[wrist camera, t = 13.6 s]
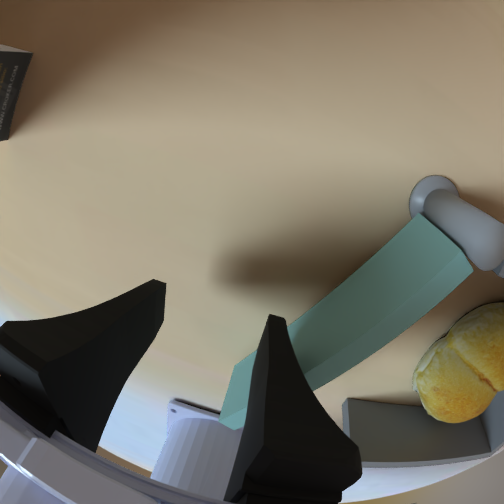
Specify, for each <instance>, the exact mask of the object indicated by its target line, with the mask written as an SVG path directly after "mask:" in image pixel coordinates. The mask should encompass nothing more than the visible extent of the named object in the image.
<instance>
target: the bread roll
mask: <svg viewBox="0 0 504 504" xmlns="http://www.w3.org/2000/svg"><path fill="white" fill-rule="evenodd" d="M412 388H413V390H415V391H417V392H418V393H419V397H420V399H421V402H422V404H423V407H424V408H425V409H426V411H427V413H428V414H429V415H432V417H434V418H435V419H437V420H440V421H443V422H447V423H460V422H464V421H467V420H470V419H472V418H475V417H477V416H478V415H480V414H481V413H483V412H484V411H485V409H486V408H487V407H488V406H489V404H490V403H491V401H492V400H493V398H494V397H495V395H496V394H497V392H499V391H503V390H504V302H498V303H491V304H487V305H483V306H480V307H478V308H477V309H475V310H473V311H471V312H470V313H468V314H467V315H465V316H464V317H463V318H461V319H460V320H459V321H458V322H457V323H455V325H454V326H453V327H452V328H451V329H450V331H449V333H448V334H447V336H446V337H444V338H442V339H439V340H438V341H436V342H435V343H434V344H433V345H432V346H431V347H430V348H429V350H428V351H427V352H426V354H425V355H424V356H423V357H422V359H421V360H420V362H419V364H418V365H417V367H416V369H415V371H414V375H413V386H412Z"/></svg>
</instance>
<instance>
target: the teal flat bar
mask: <svg viewBox="0 0 504 504" xmlns="http://www.w3.org/2000/svg"><path fill="white" fill-rule="evenodd" d="M423 212H424V216H425V217H423V216H422V215H421V214H420V213H418V214H417V215H416V216H415V217H414V218H413V219H412V220H411V221H410V222H409V223H408V224H407V225H406V226H405V227H404V228H403V229H401V230H400V231H399V232H398V233H397V234H396V235H395V236H394V237H393V238H392V239H391V240H390V241H389V242H388V243H387V244H385V245H384V246H383V247H382V248H381V249H380V250H379V251H378V252H377V253H376V254H375V255H373V256H372V257H371V258H370V259H369V260H368V261H367V262H366V263H364V264H363V265H362V266H361V267H360V268H359V269H358V270H356V271H355V272H354V273H353V274H352V275H351V276H350V277H348V278H347V279H346V280H345V281H344V282H343V283H341V284H340V285H339V286H338V287H337V288H335V289H334V290H333V291H332V292H331V293H329V294H328V295H327V296H326V297H325V298H323V299H322V300H321V301H320V302H318V303H317V304H316V305H315V306H313V307H312V308H311V309H310V310H309V311H307V312H306V313H305V314H303V315H302V316H301V317H300V318H298V319H297V320H296V321H295V322H293V323H292V324H291V325H289V326H288V327H287V329H288V333H289V337H290V340H291V344H292V347H293V349H294V352H295V355H296V358H297V360H298V363H299V365H300V367H301V370H302V372H303V374H304V376H305V378H306V380H307V382H308V384H309V386H310V388H311V389H312V391H314V390H316V389H318V388H320V387H321V386H323V385H325V384H326V383H328V382H330V381H332V380H333V379H335V378H336V377H338V376H340V375H341V374H343V373H344V372H346V371H348V370H349V369H351V368H352V367H354V366H355V365H357V364H358V363H360V362H362V361H363V360H364V359H366V358H367V357H369V356H370V355H372V354H373V353H375V352H376V351H378V350H379V349H380V348H382V347H383V346H385V345H386V344H387V343H389V342H390V341H392V340H393V339H394V338H396V337H397V336H398V335H400V334H401V333H402V332H404V331H405V330H406V329H408V328H409V327H410V326H411V325H413V324H414V323H415V322H416V321H418V320H419V319H420V318H421V317H423V316H424V315H425V314H426V313H428V312H429V311H430V310H431V309H432V308H433V307H435V306H436V305H437V304H438V303H439V302H440V301H442V300H443V299H444V298H445V297H446V296H447V295H448V294H450V293H451V292H452V291H453V290H454V289H455V288H456V287H457V286H458V285H459V284H460V283H462V282H463V281H464V280H465V279H466V278H467V277H468V276H469V275H470V274H471V273H472V272H473V271H474V270H473V268H472V267H471V265H470V263H469V262H468V260H467V258H466V257H465V255H466V256H467V257H468V258H469V259H470V260H471V261H472V262H473V263H474V264H475V265H476V266H477V267H478V268H479V269H481V270H484V271H489V270H492V269H494V268H496V267H497V266H499V265H500V264H501V262H502V261H503V260H504V224H502V223H501V222H499V221H497V220H496V219H494V218H493V217H491V216H490V215H488V214H486V213H485V212H483V211H481V210H480V209H478V208H476V207H475V206H473V205H471V204H469V203H468V202H466V201H464V200H462V199H461V198H459V197H457V196H455V195H453V194H451V193H450V192H448V191H446V190H443V189H435V190H433V191H431V192H430V193H429V194H428V195H427V197H426V198H425V201H424V204H423ZM464 254H465V255H464ZM256 353H257V350H256V351H255V352H253V353H252V354H250V355H249V356H248V357H246V358H245V359H243V360H242V361H241V362H239V363H238V364H236V365H235V366H234V370H233V373H232V377H231V380H230V383H229V387H228V390H227V393H226V397H225V400H224V403H223V407H222V410H221V413H220V416H219V420H218V422H220V423H222V424H223V425H225V426H227V427H229V428H231V429H232V430H236V429H239V428H241V427H243V426H244V424H245V419H246V413H247V406H248V398H249V391H250V383H251V375H252V369H253V365H254V361H255V357H256Z"/></svg>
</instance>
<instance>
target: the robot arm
mask: <svg viewBox="0 0 504 504" xmlns="http://www.w3.org/2000/svg"><path fill="white" fill-rule="evenodd" d="M165 294H166V283H164V282H161V281H158V280H155V279H152V280H150V281H148V282H146V283H144V284H142V285H140V286H138V287H136V288H134V289H132V290H130V291H128V292H126V293H124V294H122V295H120V296H118V297H115V298H113V299H111V300H108V301H106V302H104V303H101V304H99V305H97V306H94V307H91V308H88V309H85V310H82V311H79V312H75V313H71V314H67V315H63V316H58V317H53V318H47V319H40V320H29V321H6V322H5V323H4V324H3V325H2V326H1V327H0V375H1V376H0V459H1V460H2V461H3V462H5V463H6V464H7V465H8V468H7V469H6V471H5V472H4V474H3V476H2V477H1V479H0V504H338V503H339V502H341V500H342V491H344V490H345V489H347V488H348V487H350V486H351V485H353V484H354V483H355V482H356V481H358V480H359V479H360V478H361V476H362V462H361V456H360V451H359V447H358V446H357V445H356V444H355V443H354V442H353V441H352V440H351V439H350V438H349V437H348V436H347V435H346V434H345V433H344V432H343V431H342V430H341V429H340V428H339V427H338V426H337V424H336V423H335V422H334V421H333V420H332V419H331V417H330V416H329V415H328V413H327V412H326V411H325V409H324V408H323V407H322V405H321V404H320V402H319V401H318V399H317V398H316V396H315V394H314V393H313V391H312V389H311V388H310V386H309V384H308V382H307V380H306V378H305V376H304V374H303V372H302V370H301V367H300V365H299V363H298V360H297V358H296V355H295V352H294V349H293V347H292V344H291V340H290V337H289V333H288V329H287V325H286V320H285V319H284V318H283V317H279V316H275V315H272V314H269V316H268V319H267V322H266V325H265V328H264V331H263V334H262V337H261V340H260V343H259V346H258V349H257V353H256V357H255V361H254V365H253V369H252V375H251V383H250V391H249V398H248V406H247V413H246V419H245V424H244V426H243V427H241V428H239V429H236V430H232V429H231V428H229V427H227V426H225V425H223V424H222V423H220V422H218V420H219V416H220V415H218V414H215V413H212V412H208V411H205V410H202V409H199V408H196V407H193V406H190V405H187V404H184V403H181V402H178V401H175V400H171V401H169V404H168V417H167V439H166V441H165V444H164V446H163V448H162V451H161V453H160V455H159V458H158V460H157V463H156V465H155V467H154V470H153V472H152V474H151V477H150V478H148V477H146V476H143V475H141V474H138V473H136V472H134V471H131V470H129V469H127V468H125V467H122V466H120V465H118V464H116V463H114V462H112V461H110V460H108V459H106V458H103V457H102V456H100V455H98V454H96V450H97V447H98V444H99V441H100V439H101V436H102V433H103V431H104V428H105V426H106V423H107V421H108V418H109V416H110V414H111V411H112V409H113V407H114V405H115V403H116V400H117V398H118V396H119V394H120V392H121V390H122V388H123V386H124V384H125V382H126V381H127V379H128V377H129V376H130V374H131V373H132V371H133V370H134V368H135V367H136V365H137V364H138V362H139V361H140V359H141V358H142V357H143V355H144V354H145V352H146V351H147V349H148V348H149V346H150V345H151V343H152V342H153V340H154V339H155V337H156V335H157V333H158V331H159V329H160V327H161V325H162V323H163V321H164V308H165ZM413 504H416V503H413Z"/></svg>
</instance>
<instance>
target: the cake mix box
mask: <svg viewBox="0 0 504 504" xmlns="http://www.w3.org/2000/svg"><path fill="white" fill-rule="evenodd" d="M32 55H33V53H32V52H29V51H25V50H21V49H18V48H14V47H10V46H6V45H2V44H0V141H4V140H8V136H9V131H10V127H11V122H12V118H13V114H14V110H15V106H16V103H17V99H18V96H19V92H20V89H21V86H22V83H23V80H24V77H25V74H26V71H27V68H28V65H29V63H30V60H31V57H32Z"/></svg>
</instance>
